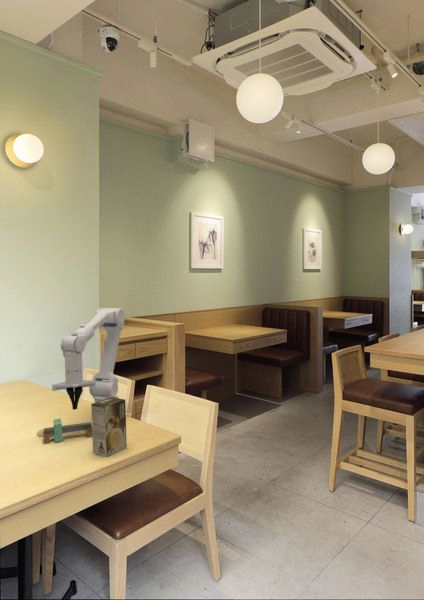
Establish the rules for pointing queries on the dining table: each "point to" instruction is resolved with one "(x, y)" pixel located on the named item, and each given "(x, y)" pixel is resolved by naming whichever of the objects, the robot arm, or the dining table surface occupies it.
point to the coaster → (40, 433)
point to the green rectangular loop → (57, 430)
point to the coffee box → (109, 426)
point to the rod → (68, 430)
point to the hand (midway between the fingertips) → (74, 408)
